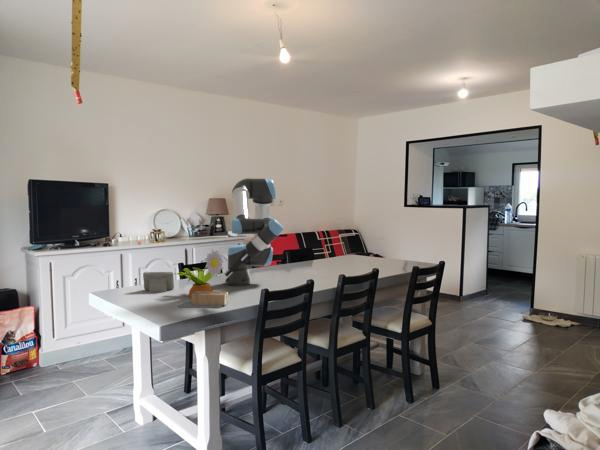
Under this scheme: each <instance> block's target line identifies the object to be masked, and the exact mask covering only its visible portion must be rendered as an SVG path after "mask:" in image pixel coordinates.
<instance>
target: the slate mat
mask: <svg viewBox="0 0 600 450" xmlns="http://www.w3.org/2000/svg"><path fill="white" fill-rule="evenodd" d="M223 306H224V305H192V299H185V300H184V301H183V302H181V303H180V304H179V305H178V306H177V308H200V307H203V308H207V309H208V308H210V309H211V308H213V309H217V308H218V309H221V308H222V307H223Z"/></svg>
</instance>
